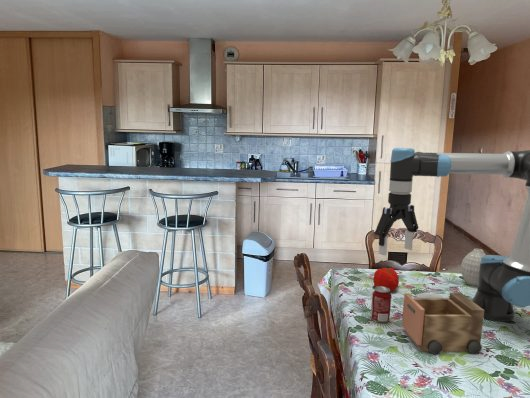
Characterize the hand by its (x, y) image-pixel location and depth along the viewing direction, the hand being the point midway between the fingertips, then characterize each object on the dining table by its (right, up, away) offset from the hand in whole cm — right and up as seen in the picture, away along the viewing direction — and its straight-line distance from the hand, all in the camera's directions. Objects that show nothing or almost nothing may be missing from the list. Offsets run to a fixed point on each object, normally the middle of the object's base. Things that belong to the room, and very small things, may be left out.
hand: (395, 251), depth 148 cm
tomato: (+7, -22, +37) cm, 44 cm away
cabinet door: (+2, -27, -9) cm, 28 cm away
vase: (+52, -21, +47) cm, 73 cm away
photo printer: (+13, -28, +1) cm, 30 cm away
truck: (+13, -29, -7) cm, 32 cm away
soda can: (-4, -26, +7) cm, 27 cm away
